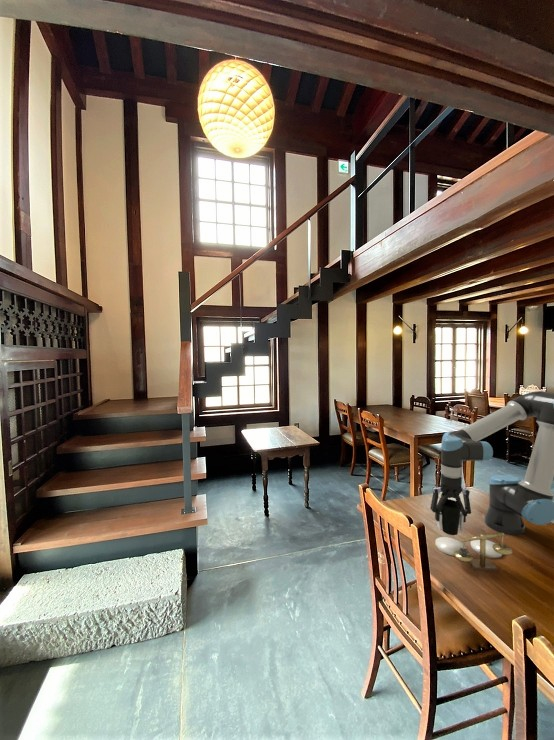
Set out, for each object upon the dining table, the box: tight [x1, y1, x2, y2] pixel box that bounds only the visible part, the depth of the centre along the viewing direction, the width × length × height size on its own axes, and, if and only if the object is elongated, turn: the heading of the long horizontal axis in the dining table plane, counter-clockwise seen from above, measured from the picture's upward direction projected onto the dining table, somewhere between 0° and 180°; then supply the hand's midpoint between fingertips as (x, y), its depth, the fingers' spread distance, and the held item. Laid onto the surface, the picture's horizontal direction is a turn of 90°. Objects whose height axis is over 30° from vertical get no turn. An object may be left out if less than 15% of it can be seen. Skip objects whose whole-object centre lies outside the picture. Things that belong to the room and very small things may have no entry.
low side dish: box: [435, 536, 467, 557], centre depth 131 cm, size 11×11×1 cm
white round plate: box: [470, 539, 503, 559], centre depth 129 cm, size 11×11×1 cm
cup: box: [440, 498, 461, 536], centre depth 130 cm, size 8×8×12 cm
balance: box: [454, 532, 513, 573], centre depth 119 cm, size 20×6×14 cm, turn 83°
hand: (450, 528), depth 130 cm, fingers closed on cup, 8 cm apart
